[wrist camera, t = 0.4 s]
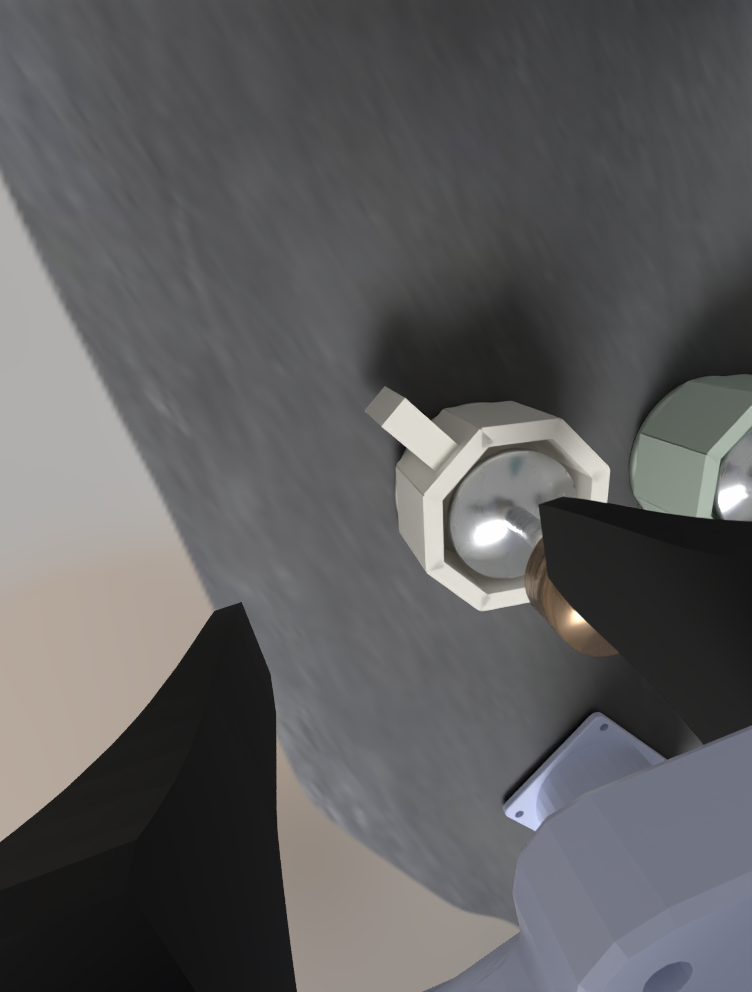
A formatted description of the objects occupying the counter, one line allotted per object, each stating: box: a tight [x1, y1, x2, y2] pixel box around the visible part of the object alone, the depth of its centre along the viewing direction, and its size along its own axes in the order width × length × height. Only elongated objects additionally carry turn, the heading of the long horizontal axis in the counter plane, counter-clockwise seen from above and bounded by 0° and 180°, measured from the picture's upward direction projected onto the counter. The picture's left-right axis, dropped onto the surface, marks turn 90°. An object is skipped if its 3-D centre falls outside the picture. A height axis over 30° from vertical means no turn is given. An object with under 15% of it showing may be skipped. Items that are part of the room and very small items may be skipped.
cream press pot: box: [365, 386, 610, 611], centre depth 21 cm, size 10×7×4 cm
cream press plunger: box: [446, 448, 620, 657], centre depth 17 cm, size 5×5×6 cm
